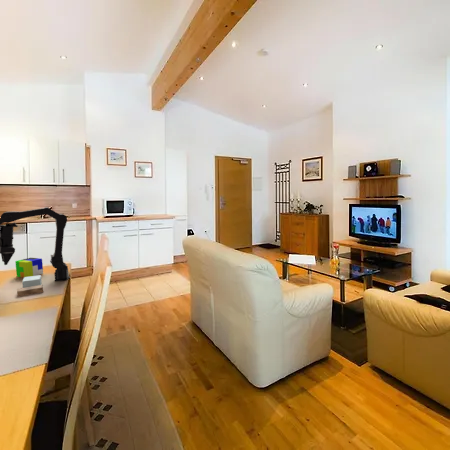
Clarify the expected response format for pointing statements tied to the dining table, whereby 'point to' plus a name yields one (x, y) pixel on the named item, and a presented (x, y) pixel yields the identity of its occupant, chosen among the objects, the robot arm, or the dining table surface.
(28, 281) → the block
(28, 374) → the dining table surface
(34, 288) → the board
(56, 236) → the robot arm
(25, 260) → the puzzle toy
